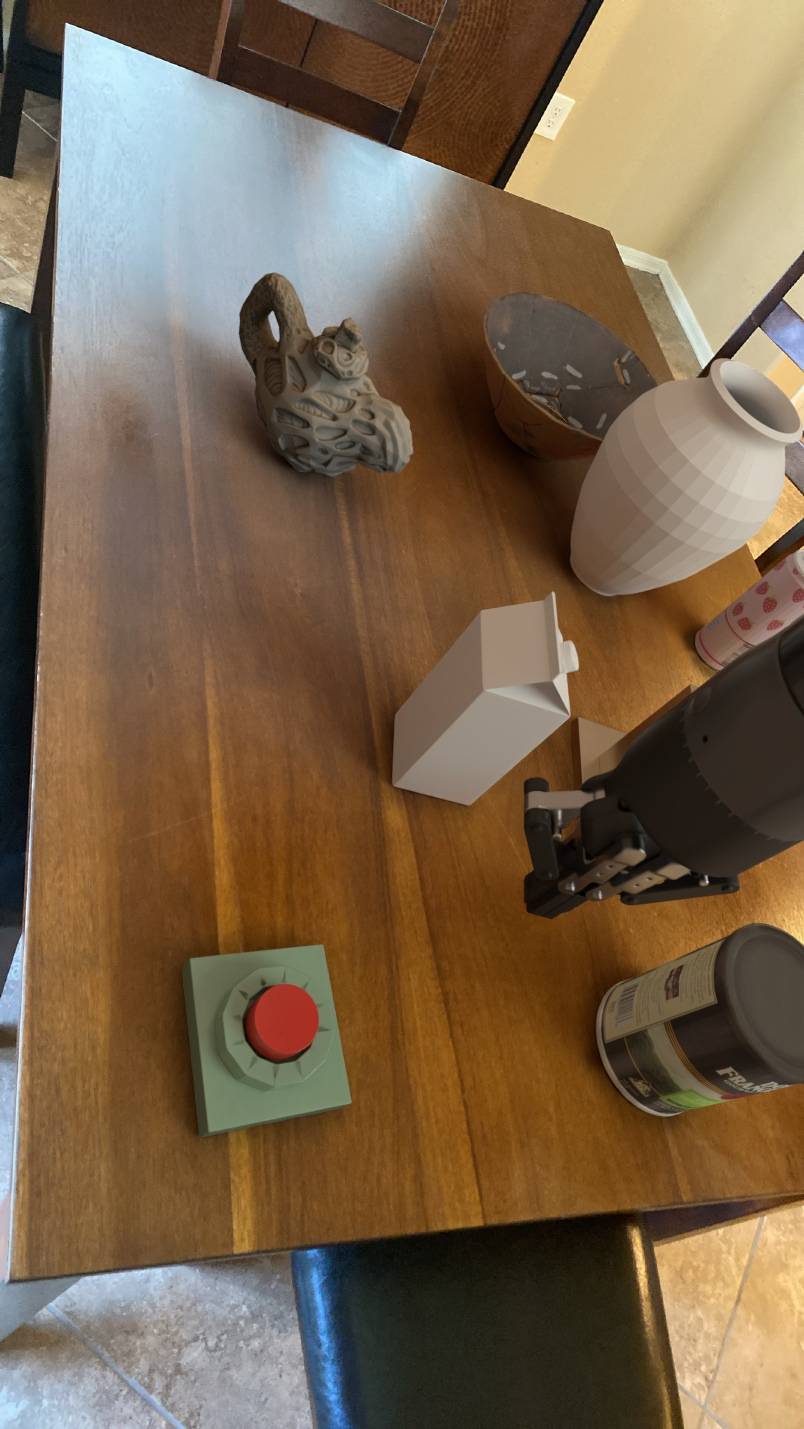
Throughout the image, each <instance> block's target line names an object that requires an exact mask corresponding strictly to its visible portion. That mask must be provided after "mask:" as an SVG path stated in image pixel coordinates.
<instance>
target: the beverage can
mask: <svg viewBox="0 0 804 1429" xmlns="http://www.w3.org/2000/svg"><path fill="white" fill-rule="evenodd" d="M803 613H804V549H797V550H795V551H794V552H793V553H790V554H789V555H787V556H786V557H785V558H784V559H783V560H781V562H779V563H778V564H777V565H775V566H774V567H773V568H771V570H769V572H767V573H765V575H764V576H762V577H761V578H760V579H758V581H757V582H755V583H754V584H753V585H752V586H751V587H749V588H748V589H747V590H746V591H745V592H743V593H742V594H741V595H740V596H739V597H738V598H736V599H735V600H734V601H733V602H731V603H730V604H729V605H728V606H727V607H726V608H724V609H723V610H722V611H721V612H720V613H718V614H717V615H716V616H715V617H714V618H713V619H711V620H710V621H709V622H707V623H706V624H705V625H704V626H703V627H702V628H701V629H699V630H698V631H697V632H696V634H695V637H694V646H695V648H696V652H697V653H698V655H699V656H700V659H702V660H703V661H704V663H706V665H708V666H709V667H711V668H712V669H714V670H717V671H720V670H721V669H722V668H724V667H725V666H726V665H728V664H729V663H730V662H731V661H733V660H734V659H735V658H737V657H738V656H740V655H741V654H742V653H744V652H745V651H747V650H749V649H750V648H752V647H754V646H756V645H757V644H759V643H761V642H763V641H765V640H766V639H768V638H770V637H772V636H773V635H775V634H777V633H778V632H779V631H781V630H782V629H784V628H785V627H787V626H788V625H790V624H791V623H792V622H793V621H794V620H796V619H797V618H798V617H799V616H801V615H802V614H803Z"/></svg>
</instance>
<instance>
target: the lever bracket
mask: <svg viewBox="0 0 804 1429" xmlns="http://www.w3.org/2000/svg"><path fill="white" fill-rule="evenodd" d="M698 687H699V686H696V685H695V684H692V683H691V684H689V685H687V686H686V687H685V688H683V689H682V690H681V691H679V693H677V694H676V695H674V696H673V697H672V698H671V699H669V700H667V702H666V703H664V704H663V705H662V706H660V707H659V708H658V709H657V710H656V711H654V712H653V713H652V714H651V715H649V716H648V717H646V718H645V719H644V720H642V722H640V723H639V724H638V725H636V727H634V728H633V729H631V731H629V732H624V731H620V730H618V729H615V728H612V727H610V726H607V725H604V724H601V723H597V722H595V721H592V720H589V719H587V718H583V717H580V716H577V717H576V718H575V719H573V720H572V721H571V723H570V725H571V742H572V757H573V760H572V761H573V774H574V791H577V790H580V788H581V786H582V784H583V783H584V782H585V781H586V780H587V779H589V778H590V777H593V776H595V775H599V774H603V773H606V772H608V771H611V770H613V769H614V768H616V766H617V765H618V764H619V762H620V761H621V759H622V758H623V756H624V755H625V753H626V751H627V750H628V748H629V746H630V745H631V743H632V742H633V740H634V739H635V738H636V737H637V736H638V735H639V734H640V733H641V732H643V731H644V730H645V729H646V728H648V727H649V726H650V725H651V724H653V723H654V722H655V721H656V720H658V719H659V718H660V717H662V716H663V715H664V714H665V713H667V712H668V711H669V710H670V709H672V708H673V707H674V706H676V705H677V704H678V703H679V702H681V701H682V700H683V699H684V698H686V697H687V696H688V695H690V694H691V693H692V692H693V691H695V690H696V689H697V688H698ZM578 818H579V817H578ZM578 818H576V820H577V819H578Z"/></svg>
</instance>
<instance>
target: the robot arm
mask: <svg viewBox="0 0 804 1429" xmlns="http://www.w3.org/2000/svg"><path fill="white" fill-rule="evenodd" d="M697 687H698V688H697V689H696V690H695V691H693V692H692V693H691V694H690V695H688V696H687V697H686V698H684V699H683V700H682V701H681V702H679V703H678V704H677V705H676V706H674V707H673V708H672V709H670V710H669V711H668V712H667V713H665V714H664V715H663V716H662V717H660V718H659V719H658V720H656V721H655V722H654V723H653V724H651V725H650V726H649V727H648V728H646V729H645V730H644V731H643V732H641V733H640V734H639V735H638V736H637V737H636V738H635V739H634V740H633V742H632V743H631V745H630V746H629V748H628V750H627V751H626V753H625V755H624V756H623V758H622V759H621V761H620V762H619V764H618V765H617V766H616V768H614V769H613V770H611V771H608V772H606V773H603V774H599V775H595V776H593V777H590V778H589V779H587V780H586V781H585V782H584V783H583V784H582V786H581V788H580V790H577V791H575V790H560V791H551V787H550V782H549V781H548V779H546V778H543V777H538V776H534V777H529V778H526V779H525V780H524V782H523V830H524V835H525V840H526V844H527V847H528V852H529V856H530V861H531V865H532V869H533V870H531V871H530V872H528V873H527V874H525V876H524V878H523V904H525V910H526V912H527V913H528V914H530V915H533V916H537V917H541V918H543V919H544V918H545V919H548V920H554V919H555V918H557V917H558V916H560V915H562V914H565V913H570V912H571V911H573V910H574V909H576V908H578V907H579V906H581V905H583V904H584V903H587V902H588V901H591V902H604V901H606V900H608V899H610V898H612V897H614V896H619V897H620V898H619V899H620V903H621V904H623V905H626V906H641V905H648V904H649V905H650V904H656V903H664V902H665V903H666V902H673V901H680V900H688V899H697V898H704V897H713V896H714V897H715V896H721V895H729V894H734V893H737V892H739V891H740V889H741V885H740V879H739V875H740V874H742V873H744V872H746V871H748V870H750V869H752V868H754V867H756V866H758V865H759V864H763V862H765V861H768V860H770V859H772V858H773V857H775V856H777V855H779V854H781V853H783V852H785V851H787V850H789V849H791V848H792V847H794V846H797V845H798V844H800V843H802V842H803V841H804V613H803V614H802V615H801V616H799V617H798V618H797V619H796V620H794V621H793V622H792V623H791V624H790V625H788V626H787V627H785V628H784V629H782V630H781V631H779V632H778V633H777V634H775V635H773V636H772V637H770V638H768V639H766V640H765V641H763V642H761V643H759V644H757V645H756V646H754V647H752V648H750V649H749V650H747V651H745V652H744V653H742V654H741V655H740V656H738V657H737V658H735V659H734V660H733V661H731V662H730V663H729V664H728V665H726V666H725V667H724V668H722V669H721V670H718V672H716V673H714V674H713V675H712V676H710V678H709V679H707V680H705V682H703V683H702V684H701V685H699V686H697ZM578 817H579V818H578ZM577 818H578V819H577ZM574 819H576V820H575V823H574V828H573V830H572V832H570V833H569V834H568V835H567V836H565V837H564V838H563V833H562V832H563V830H565V829H567V828H569V826H570V823H571V821H573V820H574ZM562 838H563V839H562ZM561 839H562V840H561Z"/></svg>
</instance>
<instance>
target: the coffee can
mask: <svg viewBox="0 0 804 1429" xmlns="http://www.w3.org/2000/svg"><path fill="white" fill-rule="evenodd" d="M595 1037H596V1045H597V1048H598V1053H599V1055H600V1060H601V1062H602V1064H603V1067H604V1069H605V1071H606V1073H607V1075H608V1077H609V1079H610V1080H611V1082H612V1083H613V1086H615V1087H616V1089H617V1090H618V1092H620V1094H621V1095H622V1096H623V1097H624V1098H625V1099H626V1100H627V1101H629V1103H631V1104H632V1105H634V1106H635V1107H636V1108H638V1109H639V1110H642V1111H643V1112H645V1113H647V1114H650V1115H654V1116H658V1117H673V1116H676V1115H679V1114H681V1113H683V1112H689V1111H693V1110H697V1109H700V1108H704V1107H709V1106H713V1105H717V1104H721V1103H725V1102H726V1103H727V1102H729V1101H734V1100H738V1099H743V1098H746V1097H751V1096H755V1095H758V1094H762V1093H768V1092H773V1091H775V1090H780V1089H785V1088H788V1087H792V1086H796V1085H797V1086H798V1085H804V944H803V943H802V942H801V941H800V940H798V939H797V938H796V937H795V936H793V935H792V934H790V932H787V931H786V930H784V929H782V928H780V927H777V926H775V925H772V924H768V923H764V922H753V923H749V924H746V925H743V926H740V927H739V928H737V929H735V930H733V931H732V932H730V934H728V935H726V936H724V937H721V938H719V939H717V940H714V941H712V942H710V943H707V944H706V945H704V946H701V947H698V948H697V949H694V950H692V951H690V952H687V953H685V954H683V955H680V956H679V957H676V958H674V959H671V960H669V961H667V962H665V963H662V964H660V965H659V966H656V967H653V968H652V969H649V970H647V971H645V972H642V973H640V974H637V975H636V976H633V977H631V978H627V979H625V980H622V981H619V982H617V983H616V984H614V985H613V986H612V987H610V988H609V989H608V990H607V991H606V993H605V994H604V995H603V996H602V999H601V1002H600V1004H599V1007H598V1010H597V1014H596V1020H595Z"/></svg>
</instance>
